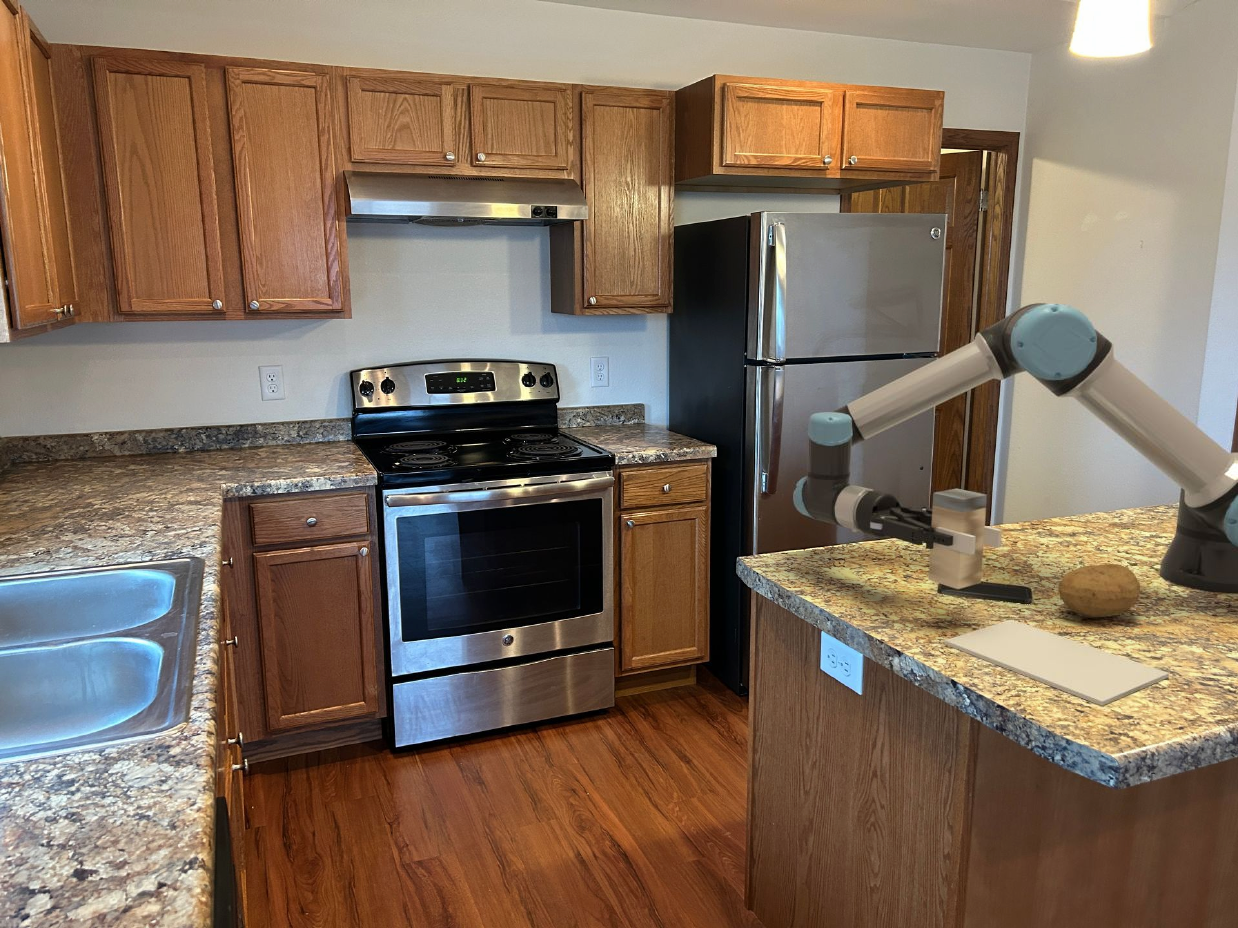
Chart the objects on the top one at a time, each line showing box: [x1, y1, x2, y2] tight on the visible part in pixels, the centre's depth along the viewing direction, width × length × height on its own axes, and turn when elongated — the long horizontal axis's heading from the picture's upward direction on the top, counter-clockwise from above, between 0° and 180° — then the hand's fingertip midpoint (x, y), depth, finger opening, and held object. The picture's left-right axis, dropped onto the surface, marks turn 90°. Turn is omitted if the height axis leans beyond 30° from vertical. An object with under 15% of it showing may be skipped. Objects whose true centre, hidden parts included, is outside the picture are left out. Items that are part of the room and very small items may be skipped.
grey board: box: [944, 619, 1170, 707], centre depth 130 cm, size 24×16×1 cm, turn 33°
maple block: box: [928, 488, 988, 589], centre depth 142 cm, size 6×6×14 cm
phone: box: [937, 580, 1033, 606], centre depth 159 cm, size 8×1×15 cm
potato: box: [1058, 563, 1141, 619], centre depth 147 cm, size 10×14×8 cm
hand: (986, 542), depth 138 cm, fingers closed on maple block, 5 cm apart
